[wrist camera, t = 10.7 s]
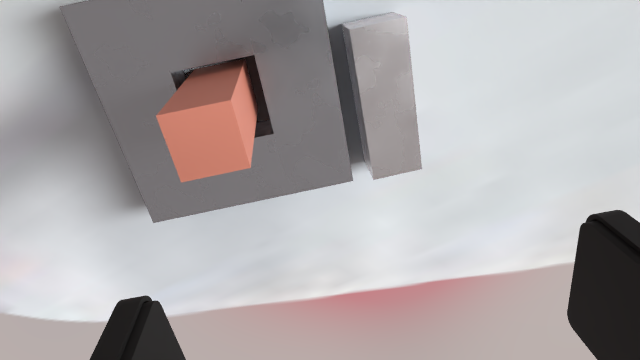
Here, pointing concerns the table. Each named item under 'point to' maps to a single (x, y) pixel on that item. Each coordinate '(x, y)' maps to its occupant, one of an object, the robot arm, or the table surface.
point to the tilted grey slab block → (384, 93)
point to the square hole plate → (207, 48)
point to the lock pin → (211, 121)
